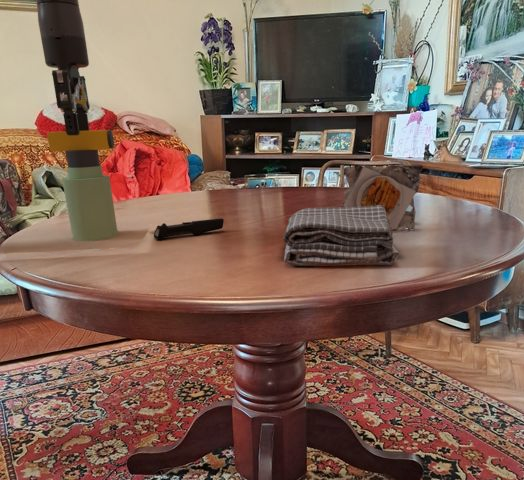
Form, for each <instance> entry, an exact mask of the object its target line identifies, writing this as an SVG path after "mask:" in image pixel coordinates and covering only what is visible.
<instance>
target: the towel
mask: <svg viewBox="0 0 524 480" xmlns="http://www.w3.org/2000/svg"><path fill="white" fill-rule="evenodd" d="M393 234H394V233H393V229H391V227H390V222H389V220H388V218H387V214H386V210H385V208H384V206H383V205H376V206H366V207H365V206H363V207H342V206H340V207H338V206H337V207H335V206H334V207H333V206H332V207H307V208H306V207H305V208H302V209H299V210H298V211H296V212H294V213H292V215H291V216H290V217H289V218H288V220H287V225H286V227H285V230H284V234H283V236H282V240H283V242H284V243H285V244H286V246H285V250H284V257H283V261H284V263H285V264H287V265H292V266H297V267H324V266H325V267H328V266H329V267H330V266H331V267H332V266H333V267H336V266H339V267H340V266H356V265H357V266H363V265H365V266H366V265H371V266H373V265H374V266H375V265H376V266H377V265H381V266H382V265H383V266H391V265H394V264H395V263H396V260H397V259H398V257H399V251H398V250H397V249H396V248H395V247H394V245H393V244H394V237H393Z"/></svg>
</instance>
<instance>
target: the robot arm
mask: <svg viewBox="0 0 524 480" xmlns="http://www.w3.org/2000/svg"><path fill="white" fill-rule="evenodd" d="M35 3H36V8H37V9H36V11H37V22H38V27H39V28H38V29H39V34H40V41H41V45H42V51H43V57H44V62H45V65H46V66H47V67H49V68H52V70H51V76H52V80H53V87H54V94H55V100H56V106H57V109H60V112H61V113H62V116H63V119H64V120H63V121H64V127H65V130H66V133H67V135H79V133H80V132H79V131H91V130H90V122H89V118H88V117H89V116H88V113H89V110H90V109H91V106H90V103H89V96H88V95H89V94H88V90H87V85H86V77H85V76H84V75H80V72H79V69H83V68H87V67H88V66H89V65H90V61H89V53H88V46H87V40H86V34H85V26H84V21H83V17H82V14H81V9H80V2H79V0H35ZM53 68H54V70H53Z"/></svg>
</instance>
